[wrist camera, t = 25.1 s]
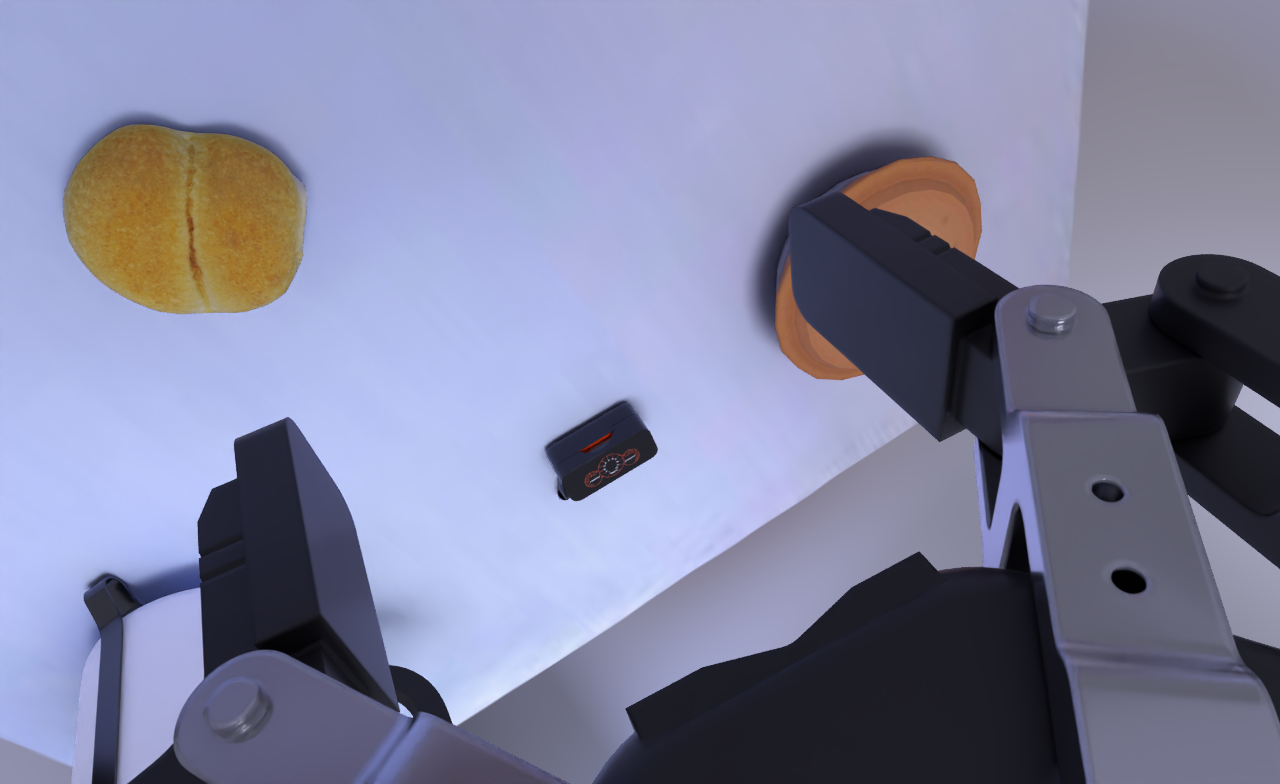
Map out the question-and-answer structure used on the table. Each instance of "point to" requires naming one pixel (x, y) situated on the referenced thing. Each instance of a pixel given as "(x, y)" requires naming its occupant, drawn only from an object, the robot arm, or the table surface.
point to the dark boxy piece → (600, 452)
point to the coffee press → (158, 681)
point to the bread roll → (186, 219)
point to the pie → (902, 187)
